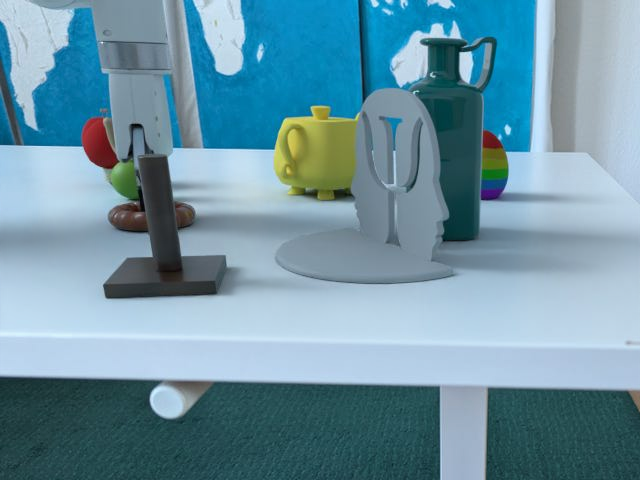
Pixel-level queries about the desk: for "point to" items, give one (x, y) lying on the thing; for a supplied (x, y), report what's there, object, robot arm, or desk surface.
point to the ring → (136, 220)
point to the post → (163, 247)
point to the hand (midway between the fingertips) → (159, 216)
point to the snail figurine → (121, 167)
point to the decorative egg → (493, 167)
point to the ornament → (383, 203)
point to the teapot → (316, 153)
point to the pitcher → (456, 129)
